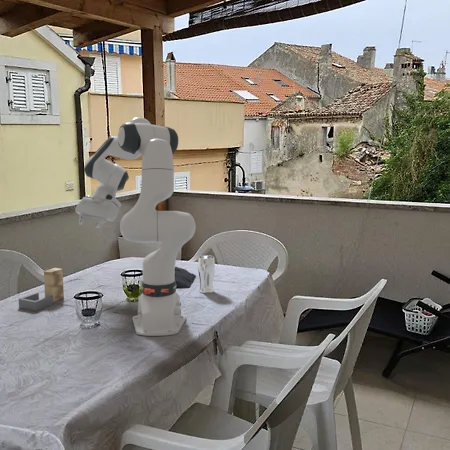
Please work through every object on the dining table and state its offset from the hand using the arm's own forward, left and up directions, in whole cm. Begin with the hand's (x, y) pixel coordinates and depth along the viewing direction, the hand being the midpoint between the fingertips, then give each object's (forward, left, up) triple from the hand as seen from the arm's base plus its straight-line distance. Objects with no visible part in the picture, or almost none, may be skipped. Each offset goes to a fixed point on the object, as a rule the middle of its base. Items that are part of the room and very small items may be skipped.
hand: (88, 225), depth 213 cm
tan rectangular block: (-16, +11, -27) cm, 33 cm away
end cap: (-24, +16, -27) cm, 39 cm away
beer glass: (-9, -50, -27) cm, 57 cm away
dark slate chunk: (+8, -37, -28) cm, 47 cm away
